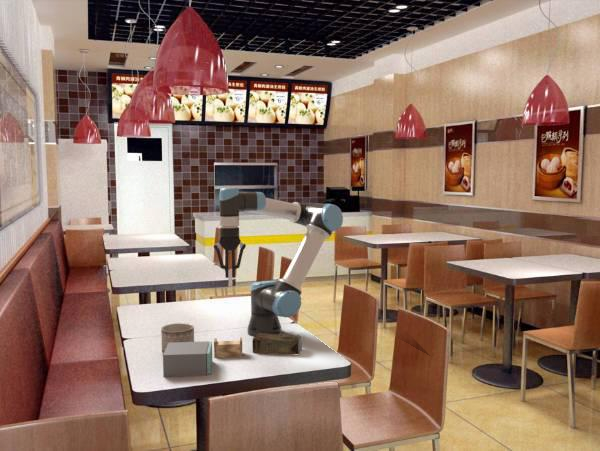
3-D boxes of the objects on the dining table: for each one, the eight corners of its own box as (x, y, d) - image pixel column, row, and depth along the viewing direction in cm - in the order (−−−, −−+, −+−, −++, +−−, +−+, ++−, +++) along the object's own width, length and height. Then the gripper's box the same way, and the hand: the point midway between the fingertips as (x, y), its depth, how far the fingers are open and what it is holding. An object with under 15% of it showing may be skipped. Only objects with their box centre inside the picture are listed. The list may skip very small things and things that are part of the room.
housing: (209, 361, 215) (208, 341, 214) (206, 375, 200) (206, 353, 200) (169, 362, 214) (168, 342, 213) (163, 376, 199) (162, 355, 198)
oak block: (242, 352, 225) (242, 337, 224) (242, 356, 220) (242, 341, 220) (214, 353, 224) (214, 338, 223) (214, 357, 219) (213, 341, 219)
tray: (212, 360, 215) (212, 341, 214) (209, 373, 201) (209, 353, 200) (172, 361, 213) (172, 342, 213) (167, 375, 199) (166, 354, 199)
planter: (159, 350, 229) (158, 325, 228) (190, 346, 234) (190, 321, 233) (165, 359, 217) (164, 333, 216) (197, 355, 222) (197, 329, 221)
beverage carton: (299, 356, 222) (298, 339, 221) (251, 353, 225) (251, 337, 224) (302, 349, 229) (302, 333, 229) (256, 347, 233) (256, 331, 232)
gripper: (246, 225, 228) (246, 283, 230) (213, 226, 227) (214, 284, 229) (246, 227, 220) (246, 287, 223) (212, 228, 219) (213, 288, 221)
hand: (230, 285), depth 226 cm, fingers closed
